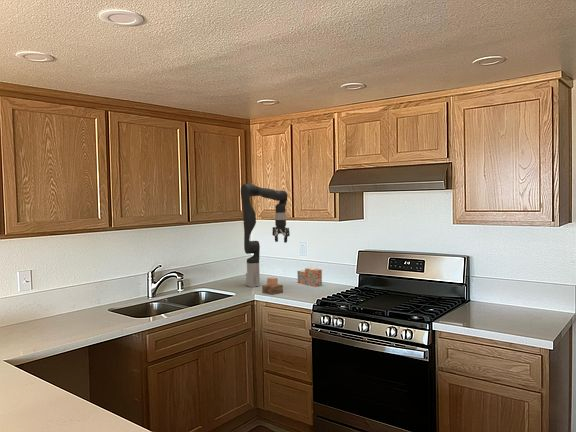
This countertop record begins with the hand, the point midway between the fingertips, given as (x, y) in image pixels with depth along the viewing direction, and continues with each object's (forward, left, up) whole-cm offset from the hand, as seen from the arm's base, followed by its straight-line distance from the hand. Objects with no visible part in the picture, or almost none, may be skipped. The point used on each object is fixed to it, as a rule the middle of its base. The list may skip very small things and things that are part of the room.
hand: (281, 242), depth 340 cm
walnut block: (+2, -11, -34) cm, 35 cm away
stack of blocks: (+3, +27, -34) cm, 44 cm away
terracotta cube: (+2, -11, -29) cm, 31 cm away
